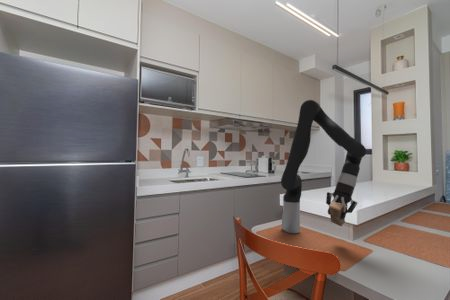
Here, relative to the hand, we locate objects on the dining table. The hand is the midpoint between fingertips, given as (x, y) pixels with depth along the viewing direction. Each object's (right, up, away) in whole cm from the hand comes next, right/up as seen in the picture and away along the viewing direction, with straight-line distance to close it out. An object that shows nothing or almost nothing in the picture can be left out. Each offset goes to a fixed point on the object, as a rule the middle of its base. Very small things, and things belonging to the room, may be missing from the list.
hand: (335, 216), depth 100 cm
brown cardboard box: (+3, -3, +3) cm, 5 cm away
